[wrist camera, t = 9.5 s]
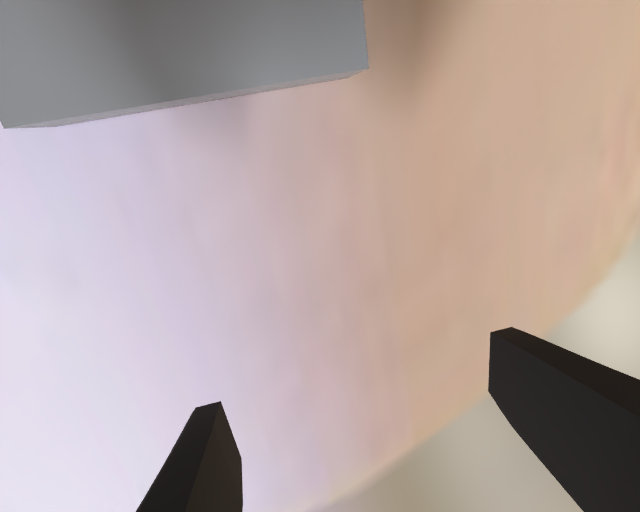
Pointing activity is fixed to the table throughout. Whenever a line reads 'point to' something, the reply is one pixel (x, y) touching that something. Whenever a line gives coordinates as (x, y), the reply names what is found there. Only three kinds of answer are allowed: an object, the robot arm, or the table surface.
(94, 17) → the socket block
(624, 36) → the table surface
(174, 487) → the robot arm
